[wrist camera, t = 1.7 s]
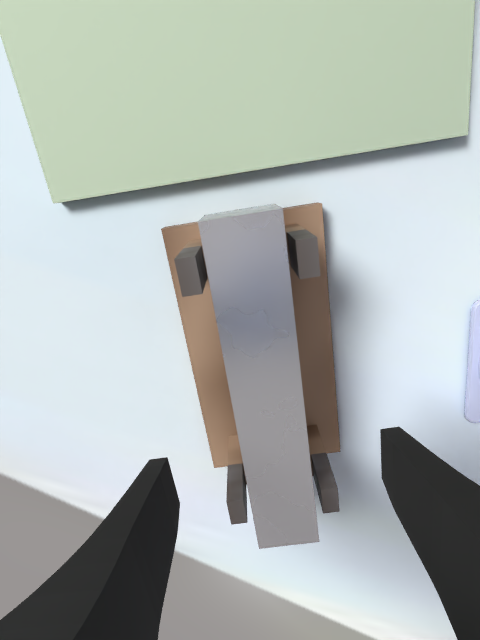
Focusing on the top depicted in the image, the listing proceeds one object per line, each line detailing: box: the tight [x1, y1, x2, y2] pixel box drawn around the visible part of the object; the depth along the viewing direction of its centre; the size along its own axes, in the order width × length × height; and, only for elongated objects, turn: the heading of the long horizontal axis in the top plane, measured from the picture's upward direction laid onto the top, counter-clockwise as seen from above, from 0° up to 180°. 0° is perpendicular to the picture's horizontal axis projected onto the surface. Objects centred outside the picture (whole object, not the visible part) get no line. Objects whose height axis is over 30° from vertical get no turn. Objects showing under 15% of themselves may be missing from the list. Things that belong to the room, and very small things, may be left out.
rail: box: [198, 204, 319, 549], centre depth 17 cm, size 16×3×3 cm, turn 9°
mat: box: [0, 0, 475, 203], centre depth 17 cm, size 20×9×1 cm, turn 99°
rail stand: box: [161, 203, 340, 524], centre depth 19 cm, size 8×15×6 cm, turn 9°
